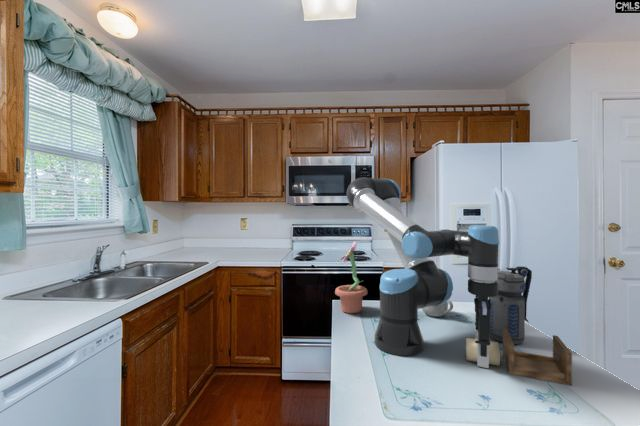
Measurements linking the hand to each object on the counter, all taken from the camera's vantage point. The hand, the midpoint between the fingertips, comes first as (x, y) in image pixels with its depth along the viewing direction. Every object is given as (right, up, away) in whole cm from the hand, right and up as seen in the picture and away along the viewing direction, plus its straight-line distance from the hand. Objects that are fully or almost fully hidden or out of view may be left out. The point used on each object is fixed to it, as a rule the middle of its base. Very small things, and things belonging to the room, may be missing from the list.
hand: (481, 360), depth 85 cm
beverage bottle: (+17, 0, +14) cm, 22 cm away
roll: (0, +3, 0) cm, 3 cm away
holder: (+12, 0, -4) cm, 13 cm away
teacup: (+2, 0, +37) cm, 37 cm away
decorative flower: (-33, 0, +43) cm, 54 cm away
